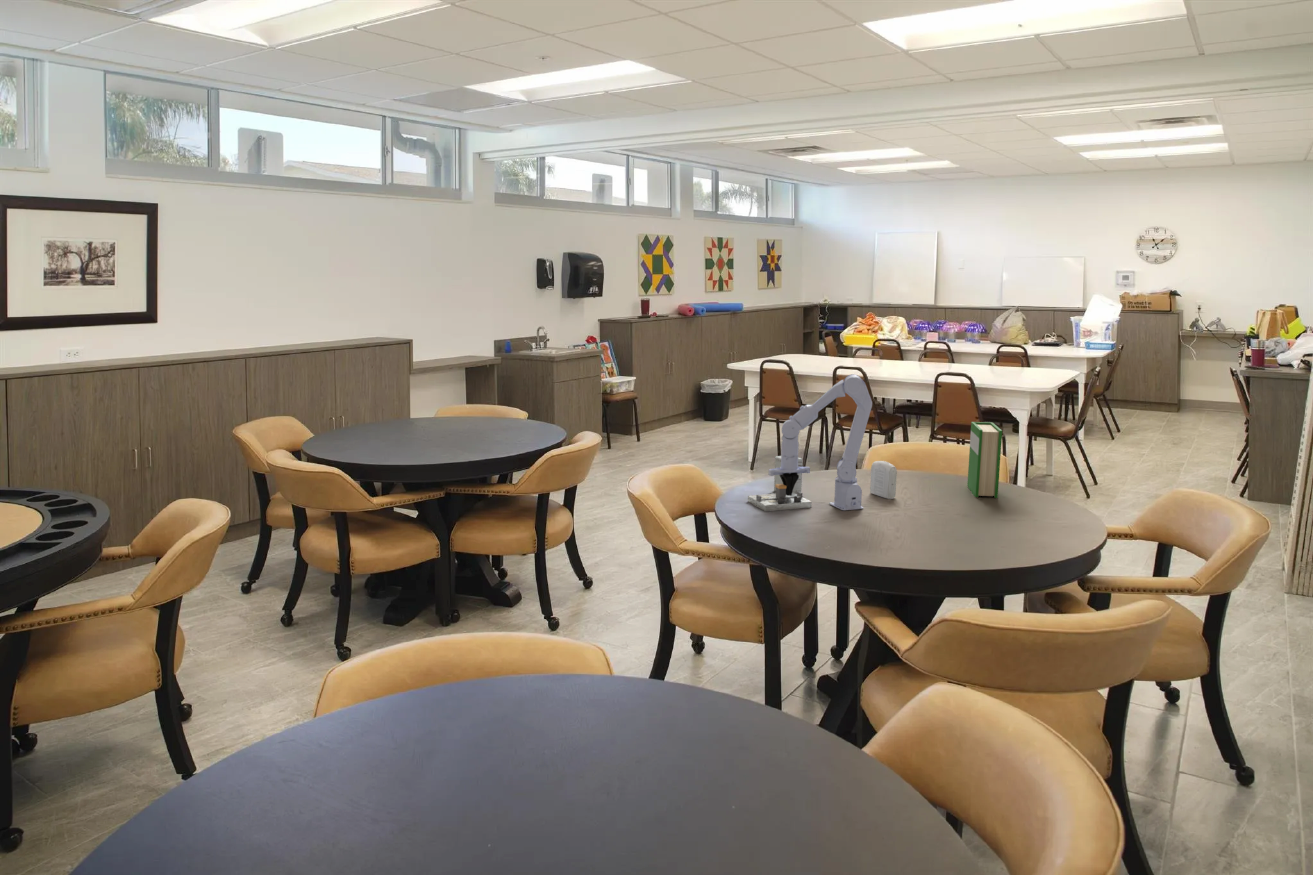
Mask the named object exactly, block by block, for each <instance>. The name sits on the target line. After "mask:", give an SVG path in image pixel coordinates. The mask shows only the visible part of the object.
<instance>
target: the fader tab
mask: <svg viewBox="0 0 1313 875" xmlns="http://www.w3.org/2000/svg"><path fill="white" fill-rule="evenodd" d="M775 487H776V490H775V494H776V498H779V497H783V498H785V499H786V487H787V486H786V485H784V484H775Z"/></svg>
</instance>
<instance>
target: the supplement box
mask: <svg viewBox="0 0 1313 875" xmlns="http://www.w3.org/2000/svg"><path fill="white" fill-rule="evenodd" d="M803 461H804V460H803V458H801V457H799V456H798V467H803ZM780 467H781V455H776V456H775V457H774V468H780ZM797 475H799V478H798V480H797V482H796V483H795V486H794V488H793V493H795V494H797V492H801V493H802V486H803V484H802V482H803V481H802V480H803V473H798V474H797ZM773 480H774V481H773V491H776V487H775V484H783V482H782V480H781V478H780V475H774V479H773Z"/></svg>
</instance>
